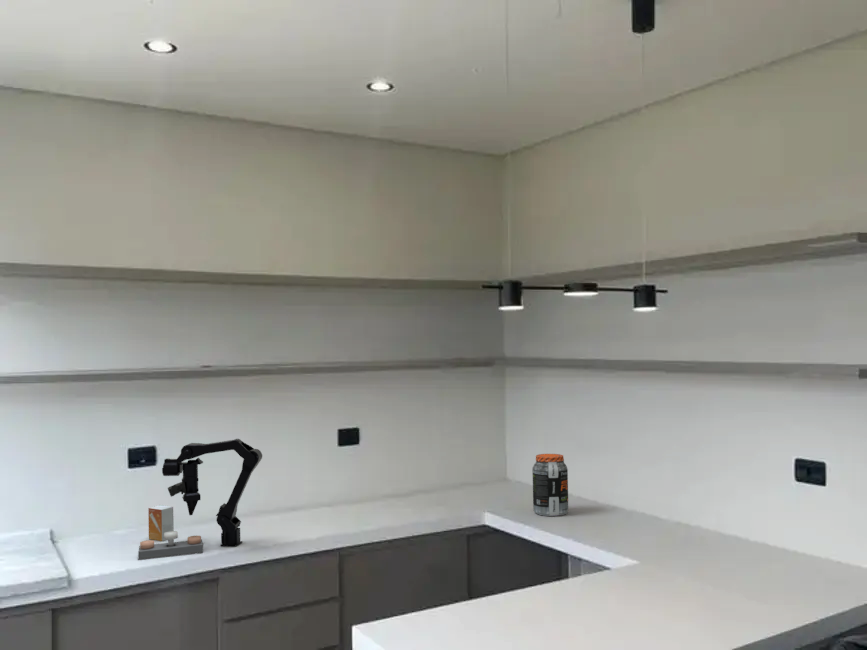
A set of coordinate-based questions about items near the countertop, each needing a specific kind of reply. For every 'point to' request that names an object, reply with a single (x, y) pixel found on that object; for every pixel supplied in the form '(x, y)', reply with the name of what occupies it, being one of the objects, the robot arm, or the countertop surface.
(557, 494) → the supplement tub
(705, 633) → the countertop surface
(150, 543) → the knob
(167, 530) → the small box
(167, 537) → the knob middle
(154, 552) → the knob strip
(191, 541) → the knob
